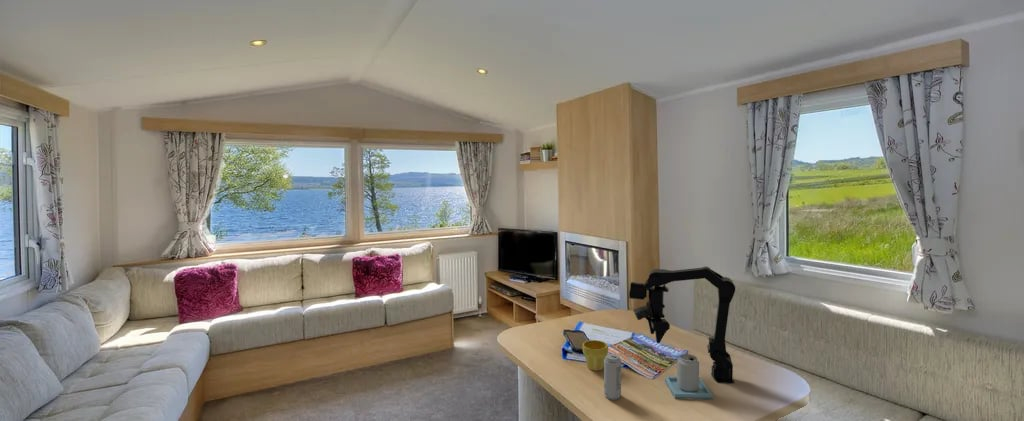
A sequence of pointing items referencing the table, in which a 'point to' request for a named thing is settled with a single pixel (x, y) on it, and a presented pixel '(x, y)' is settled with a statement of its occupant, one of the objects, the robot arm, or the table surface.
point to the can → (688, 373)
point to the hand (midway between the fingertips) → (655, 338)
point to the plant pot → (595, 354)
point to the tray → (680, 394)
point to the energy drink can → (612, 376)
